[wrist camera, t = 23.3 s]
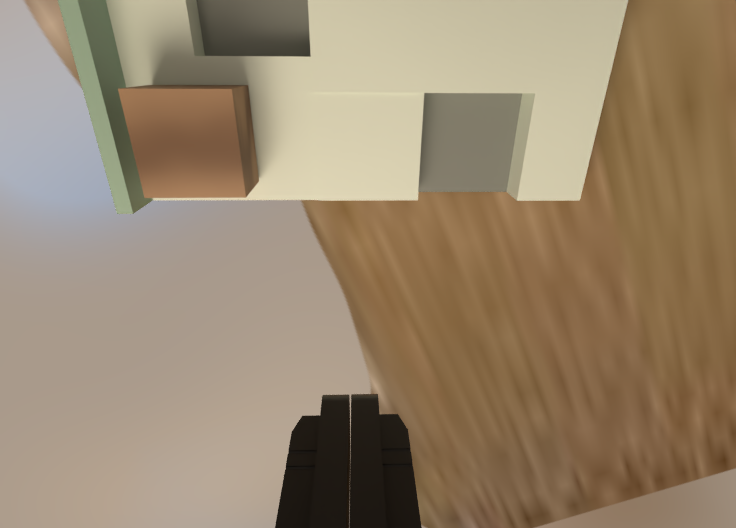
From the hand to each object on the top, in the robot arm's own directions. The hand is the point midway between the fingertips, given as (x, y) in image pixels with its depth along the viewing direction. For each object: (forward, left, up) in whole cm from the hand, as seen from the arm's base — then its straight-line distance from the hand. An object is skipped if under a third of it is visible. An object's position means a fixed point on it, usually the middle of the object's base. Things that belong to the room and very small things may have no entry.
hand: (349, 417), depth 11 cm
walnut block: (-4, -9, -20) cm, 22 cm away
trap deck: (-8, +1, -22) cm, 23 cm away
